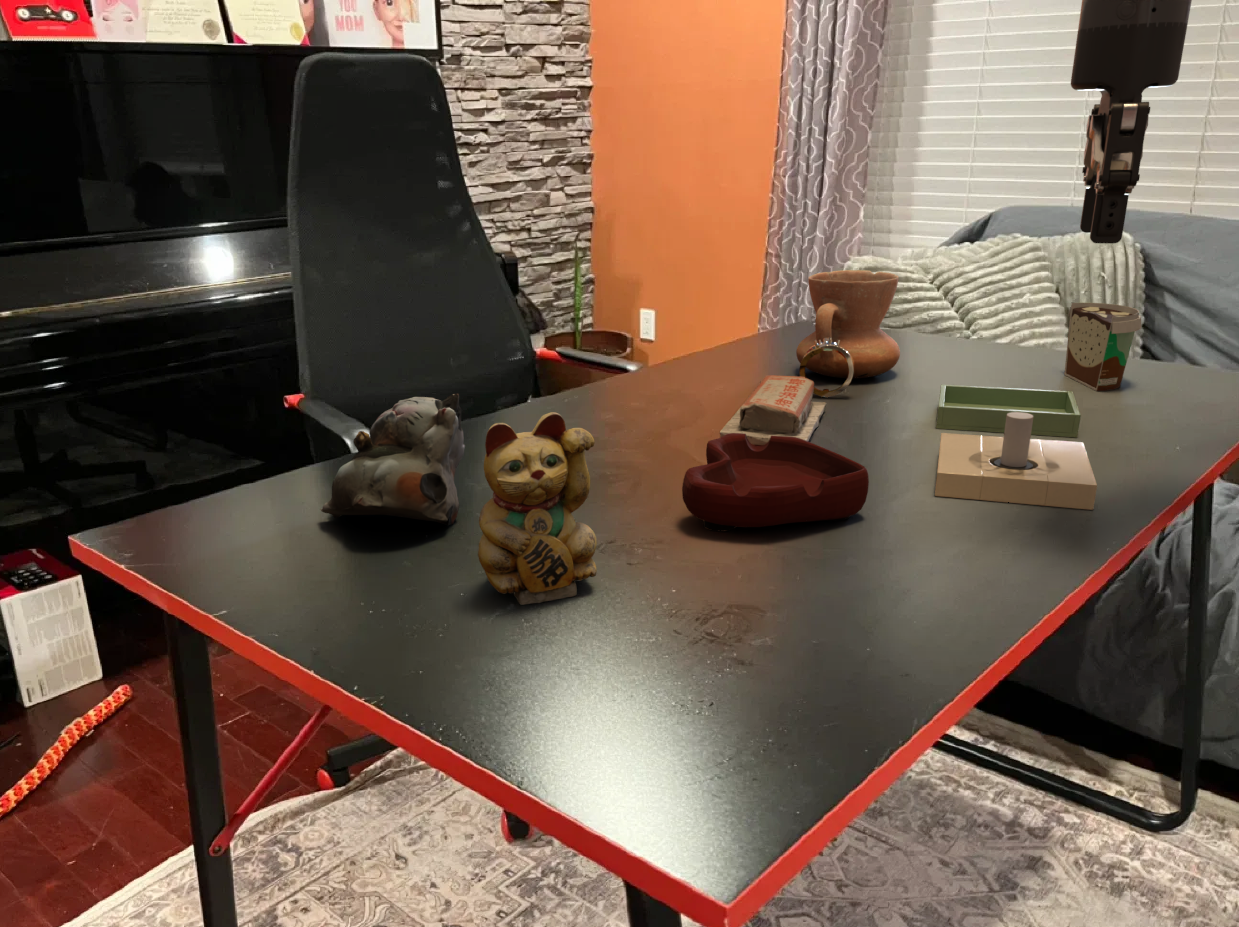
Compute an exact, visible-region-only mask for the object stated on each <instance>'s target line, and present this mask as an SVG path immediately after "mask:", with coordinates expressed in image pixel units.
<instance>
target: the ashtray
mask: <svg viewBox="0 0 1239 927" xmlns="http://www.w3.org/2000/svg"><path fill="white" fill-rule="evenodd" d="M705 458H706V464H701V465H696V466H693V467H692V466H691V467H690V468H688V469H686V471H685V474H684V477H683V480H682V485H681V486H682V488H681V493H682V496H681V497H682V501H683V503H684V505H685V507H686V509H687V511H688V512H689V513H691V515H693V517H695V518H697V519H699V520H701V521H703V527H704V528H705V529H707V530H710V531H714V532H728V531H732V530H734V529H736V528H737V527H738V528H761V527H762V528H763V527H770V526H772V527H773V526H778V525H784V524H793V523H809V522H820V521H821V522H822V521H833V522H834V521H835V522H839V521H845V520H848V519H850V518H851V517H853V516H855V515H856V514H858V513H859V512H860V511H861V510H862V509H863V507H864V505H865V503H866V501H867V498H868V493H869V486H870V480H869V471H868V469H867V468H866V467H865V466H864V465H863V464H860V463H859V462H857V461H855V460H852V459H851V458H848V457H847V456H844V455H842V454H839V453H838V452H835V451H832V450H830V449H828V448H825V447H822V446H820V445H817V444H815V443H813V442H811V441H806V440H803V439H800V438H797V437H787V436H771V438H770V440H769V441H768V443H766V444H765V445H753V444H751V443H750V442H749V440H748V439H747V436H746V434H743V433H729V434H726V435H724V436H722V437H720V436H719V437H718V438H714V439H710V440H709V441H707V443H706V451H705Z"/></svg>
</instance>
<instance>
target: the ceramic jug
mask: <svg viewBox="0 0 1239 927" xmlns="http://www.w3.org/2000/svg"><path fill="white" fill-rule="evenodd" d="M807 280H808V290H809V295H810V299H811V302H812V305H813V309H814V311H815V320H814V321H815V322H814V324H815V326H814V331H813V332H812V333H810V334H809V335H807V336H805V338H804V339H802V340H801V341H800V342H799V343H798V345H797V348H796V351H795V352H796V353H795V355H796V358H797V361H798V362H799V365H800V364H801V361H802V360H803V357H804V355H805V354H806V352H807V351H808V350H809V349H810V348H811V347H812V346H814V345H815V343H814V341H815V340H817V344H818V343H819V340H821V342H823V339H824V338H829V337H831V338H832V342H836V343H837V340H840V342H839V345H838V346H840V347H842V348H844V349H845V350H846V351H848V352H849V354H850V355H851V356H852V358H853V361H854V365H855V371H854V376H853V379H865V378H866V379H867V378H872V377H877V376H880V375H882V374H885V373H887V372H889V371H890V370H891V369H893V368H894V367H895V366H896V365H897V364H898V362H899V359H900V356H901V350H900V349H901V348H900V346H899V344H898V343H897V342H896V340H895V339H893V337H891V336H890V335H888V334H887V333H886V332H885V331H884V330H882V329H881V324H882V322H883V321H884V319H885V317H886V315H887V314H888V311H889V309H890V307H891V305H892V302H893V300H894V298H895V294H896V292H897V289H898V284H899V275H897V274H895V273H891V272H888V271H876V272H875V273H874V272H872V271H871V270H866V269H865V270H864V269H862V270H861V269H845V270H844V269H843V270H833V271H823V272H818V273H814V274H812V275H810V276H808V279H807ZM805 369H807V370H809V371H811V372H813V373H816V374H818V375H821V376H825V377H830V378H837V379H847V377H848V373H849V367H848V363H847V361H846V359H845V358H844V357H843V356H842V355H841V354H839V353H838V352H836V351H835V350H832V351H823V350H822V352H821V353H819V354H817V355H815V356H813V357H812V358H811V359H810V360H809V361H808V362H807V364H806V368H805Z"/></svg>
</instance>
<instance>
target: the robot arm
mask: <svg viewBox="0 0 1239 927" xmlns="http://www.w3.org/2000/svg"><path fill="white" fill-rule="evenodd" d="M1192 1H1193V0H1081V5H1080V11H1079V12H1080V14H1079V21H1078V26H1077V27H1078V28H1077V29H1078V30H1077V33H1076V34H1077V35H1076V41H1075V50H1074V56H1073V63H1072V69H1071V70H1072V71H1071V77H1070V86H1071V88H1072V90H1075V91H1099V93H1100V94H1101V98H1100V101H1099V103H1095V104H1093V108H1092V109H1091V111H1090V114H1088V118H1087V121H1086V122H1087V123H1086V131H1085V132H1086V134H1085V137H1086V142H1085V146H1084V151H1083V165H1084V166H1083V167H1082V170H1081V173H1082V174H1083V178H1082V182H1083V186H1084V187H1085V190H1084V197H1083V203H1082V210H1081V216H1080V224H1079V229H1080V231H1082V232H1083V233H1087V234H1088V233H1089V239H1090V241H1091V242H1092V243H1093V244H1117V243H1119V242H1121V240H1122V238H1123V234H1124V226H1125V221H1126V214H1127V209H1128V202H1129V196H1130V194H1132V192H1133V189H1135V187H1136V186H1137V183H1138V182H1139V181H1140V178H1141V177H1140V176H1141V175H1140V168H1141V162H1142V159H1143V154H1144V153H1143V151H1144V142H1145V135H1146V132H1147V129H1148V126H1149V114H1150V113H1151V106H1150V102H1149V101H1143V92H1144V91H1145V90H1146V89H1149V88H1150V89H1151V88H1165V87H1171V86H1173V85H1175V84H1176V83H1177V82H1178V79H1179V76H1180V70H1181V66H1182V58H1183V53H1184V46H1185V41H1186V35H1187V31H1188V24H1189V19H1190V18H1189V17H1190V13H1191V6H1192Z"/></svg>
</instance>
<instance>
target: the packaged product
mask: <svg viewBox="0 0 1239 927" xmlns="http://www.w3.org/2000/svg"><path fill="white" fill-rule="evenodd" d="M814 387H815V382H814V380H812V379H809V378H808V377H807V378H805V377H802V376H800V375H799V376H797V375H773V374H771V375H765V376H764V377H763V378H762V380H761V381H760V382H759V383H758V385H757V386H756V388H755V389H754V390H753V391H752V392H751V393H750V395H748V397H747V398H746V400H745V401H744V402H743V403H742V405H741V406H740V407H739V409H737V410H736V412H735V413H734V414H733V415H732V417H731V418H730V420H728V421H727V422H726V424H725V425H724V426H723V427H722V428H721V430H720V431H719V438H720V437H722V436H724V435H726V434H729V433H743V434H746V436H747V439H748V440H749V442H750V443H751V444H753V445H755V446H762V445H765V444H766V443H768V441H769V440H770V438H771V436H787V437H797V438H800V439H803V440H806V441H808V442H810V439H811V438H812V434H813V433H814V432H815V430H816V428H818V427H819V425H820V419H821V417H822V416H823V414H824V412H825V409H826V407H827V402H823V401H812V399H813V396H814V393H813V392H814Z"/></svg>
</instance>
